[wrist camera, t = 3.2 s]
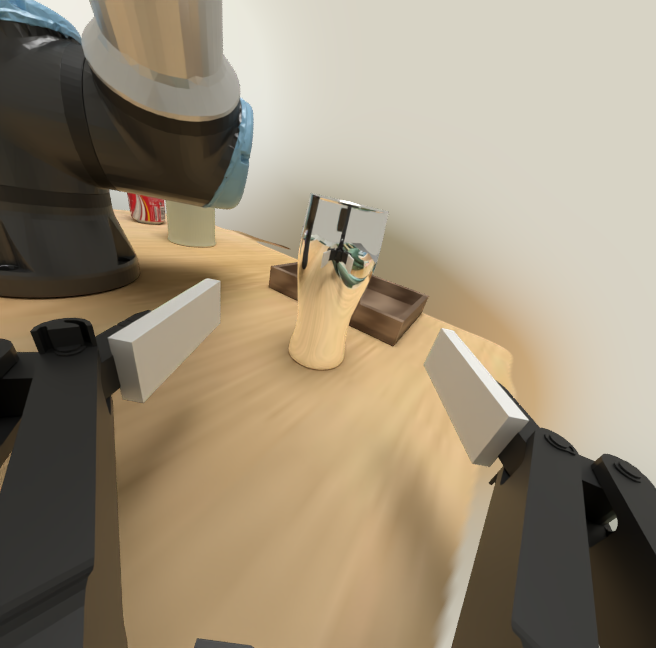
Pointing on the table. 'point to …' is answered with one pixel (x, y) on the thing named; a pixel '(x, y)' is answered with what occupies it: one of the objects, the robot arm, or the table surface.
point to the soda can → (146, 209)
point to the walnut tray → (367, 304)
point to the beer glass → (333, 276)
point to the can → (190, 225)
